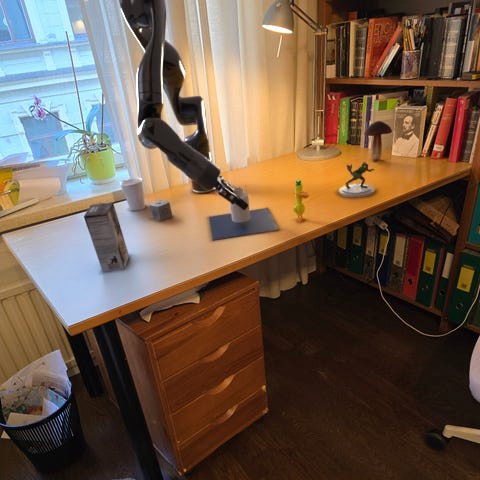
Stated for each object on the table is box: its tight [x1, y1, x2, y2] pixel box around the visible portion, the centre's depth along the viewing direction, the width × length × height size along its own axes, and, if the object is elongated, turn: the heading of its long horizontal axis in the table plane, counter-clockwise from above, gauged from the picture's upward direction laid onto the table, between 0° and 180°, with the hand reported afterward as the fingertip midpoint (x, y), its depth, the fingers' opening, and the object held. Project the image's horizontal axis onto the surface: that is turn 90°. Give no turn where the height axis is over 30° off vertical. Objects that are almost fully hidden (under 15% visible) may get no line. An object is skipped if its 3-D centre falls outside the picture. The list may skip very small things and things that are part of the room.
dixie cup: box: [119, 177, 146, 211], centre depth 153 cm, size 8×8×10 cm
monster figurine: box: [338, 161, 376, 199], centre depth 140 cm, size 12×12×10 cm
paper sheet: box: [208, 207, 280, 241], centre depth 131 cm, size 20×20×1 cm
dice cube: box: [148, 199, 173, 222], centre depth 143 cm, size 5×5×5 cm
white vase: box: [229, 187, 251, 222], centre depth 127 cm, size 6×6×10 cm
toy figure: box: [292, 179, 310, 222], centre depth 124 cm, size 7×4×12 cm, turn 32°
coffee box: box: [83, 201, 130, 273], centre depth 112 cm, size 9×6×16 cm
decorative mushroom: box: [363, 120, 393, 161], centre depth 169 cm, size 11×11×15 cm
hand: (245, 204), depth 127 cm, fingers closed on white vase, 5 cm apart
